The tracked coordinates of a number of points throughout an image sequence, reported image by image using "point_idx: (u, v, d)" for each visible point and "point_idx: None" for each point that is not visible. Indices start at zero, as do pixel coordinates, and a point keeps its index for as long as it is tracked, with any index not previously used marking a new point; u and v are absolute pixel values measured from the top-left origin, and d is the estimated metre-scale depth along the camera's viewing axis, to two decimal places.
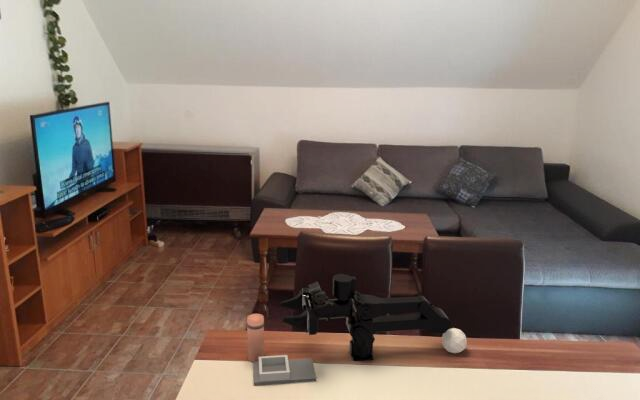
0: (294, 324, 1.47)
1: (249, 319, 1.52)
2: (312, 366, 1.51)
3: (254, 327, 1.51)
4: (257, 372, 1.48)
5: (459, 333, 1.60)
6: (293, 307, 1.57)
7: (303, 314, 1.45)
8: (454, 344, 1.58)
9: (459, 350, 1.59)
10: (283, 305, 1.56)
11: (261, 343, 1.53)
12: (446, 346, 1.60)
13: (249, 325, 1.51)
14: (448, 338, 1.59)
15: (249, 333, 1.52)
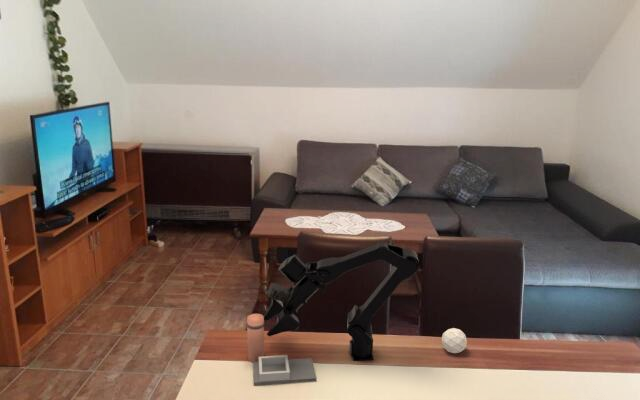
0: (278, 331, 1.49)
1: (249, 319, 1.52)
2: (312, 366, 1.51)
3: (254, 327, 1.51)
4: (257, 372, 1.48)
5: (459, 333, 1.60)
6: (276, 313, 1.59)
7: (277, 320, 1.47)
8: (454, 344, 1.58)
9: (459, 350, 1.59)
10: (267, 318, 1.59)
11: (261, 343, 1.53)
12: (446, 346, 1.60)
13: (249, 325, 1.51)
14: (448, 338, 1.59)
15: (249, 333, 1.52)
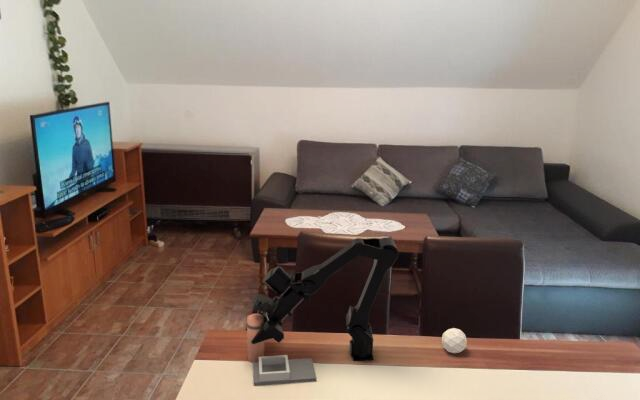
0: (262, 339, 1.51)
1: (249, 319, 1.52)
2: (312, 366, 1.51)
3: (254, 327, 1.51)
4: (257, 372, 1.48)
5: (459, 333, 1.60)
6: None
7: (261, 328, 1.49)
8: (454, 344, 1.58)
9: (459, 350, 1.59)
10: None
11: (261, 343, 1.53)
12: (446, 346, 1.60)
13: (249, 325, 1.51)
14: (448, 338, 1.59)
15: (249, 333, 1.52)
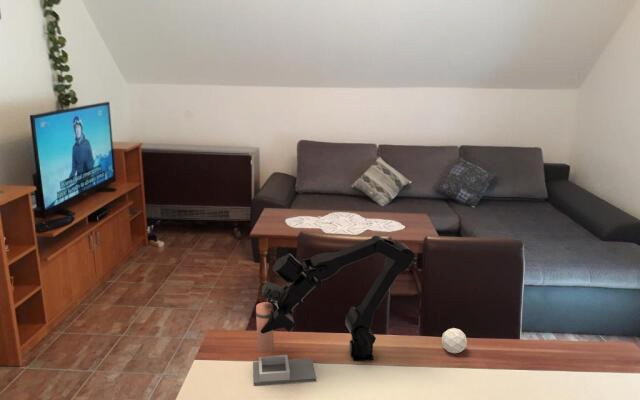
0: (272, 328, 1.45)
1: (258, 307, 1.46)
2: (312, 366, 1.51)
3: (263, 316, 1.45)
4: (257, 372, 1.48)
5: (459, 333, 1.60)
6: None
7: (271, 316, 1.43)
8: (454, 344, 1.58)
9: (459, 350, 1.59)
10: None
11: (271, 333, 1.48)
12: (446, 346, 1.60)
13: (258, 314, 1.46)
14: (448, 338, 1.59)
15: (258, 322, 1.47)
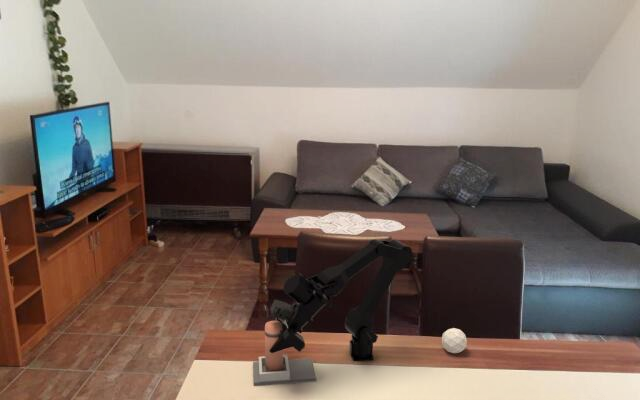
0: (281, 347, 1.42)
1: (267, 327, 1.43)
2: (312, 366, 1.51)
3: (272, 335, 1.42)
4: (257, 372, 1.48)
5: (459, 333, 1.60)
6: None
7: (280, 336, 1.41)
8: (454, 344, 1.58)
9: (459, 350, 1.59)
10: None
11: (280, 352, 1.45)
12: (446, 346, 1.60)
13: (267, 333, 1.43)
14: (448, 338, 1.59)
15: (267, 341, 1.44)
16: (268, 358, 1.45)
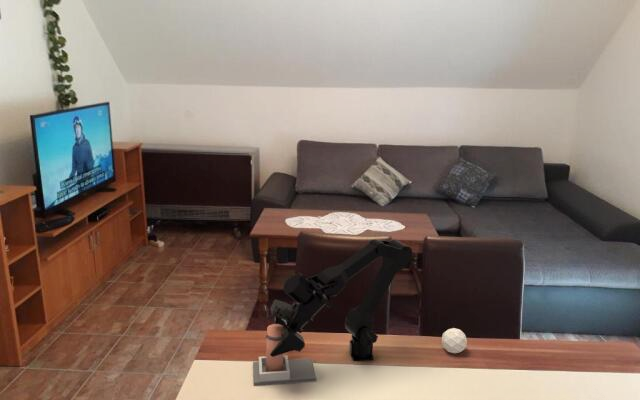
0: (282, 351, 1.41)
1: (269, 329, 1.44)
2: (312, 366, 1.51)
3: (274, 338, 1.43)
4: (257, 372, 1.48)
5: (459, 333, 1.60)
6: None
7: (281, 339, 1.39)
8: (454, 344, 1.58)
9: (459, 350, 1.59)
10: None
11: (281, 355, 1.46)
12: (446, 346, 1.60)
13: (269, 336, 1.43)
14: (448, 338, 1.59)
15: (269, 344, 1.44)
16: (269, 361, 1.45)
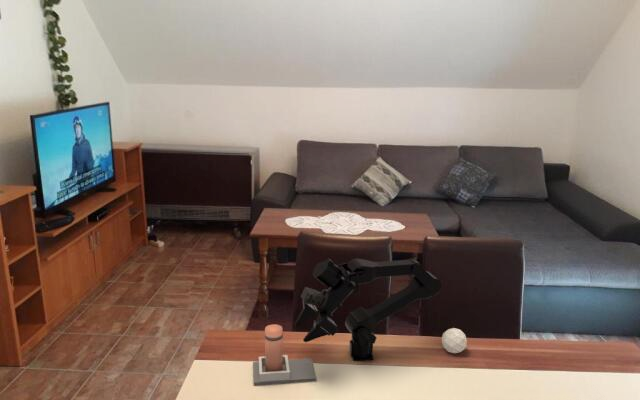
0: (315, 336, 1.46)
1: (267, 330, 1.44)
2: (312, 366, 1.51)
3: (272, 338, 1.43)
4: (257, 372, 1.48)
5: (459, 333, 1.60)
6: (308, 317, 1.55)
7: (315, 325, 1.44)
8: (454, 344, 1.58)
9: (459, 350, 1.59)
10: (299, 323, 1.55)
11: (280, 355, 1.45)
12: (446, 346, 1.60)
13: (267, 336, 1.43)
14: (448, 338, 1.59)
15: (267, 345, 1.44)
16: (268, 362, 1.45)
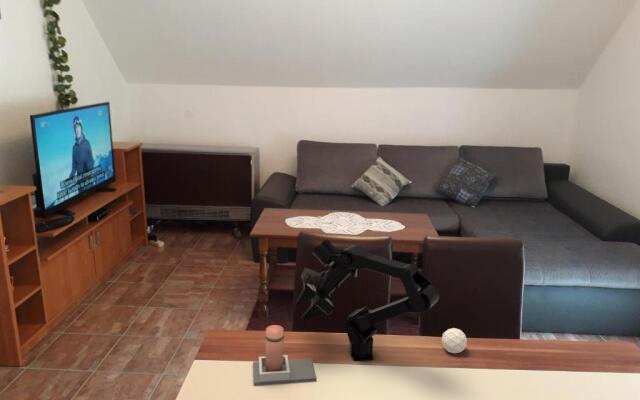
0: (312, 315, 1.52)
1: (268, 331, 1.43)
2: (312, 366, 1.51)
3: (273, 340, 1.42)
4: (257, 372, 1.48)
5: (459, 333, 1.60)
6: (308, 298, 1.62)
7: (312, 303, 1.50)
8: (454, 344, 1.58)
9: (459, 350, 1.59)
10: (299, 303, 1.62)
11: (280, 356, 1.45)
12: (446, 346, 1.60)
13: (268, 337, 1.43)
14: (448, 338, 1.59)
15: (268, 346, 1.44)
16: (268, 362, 1.45)
